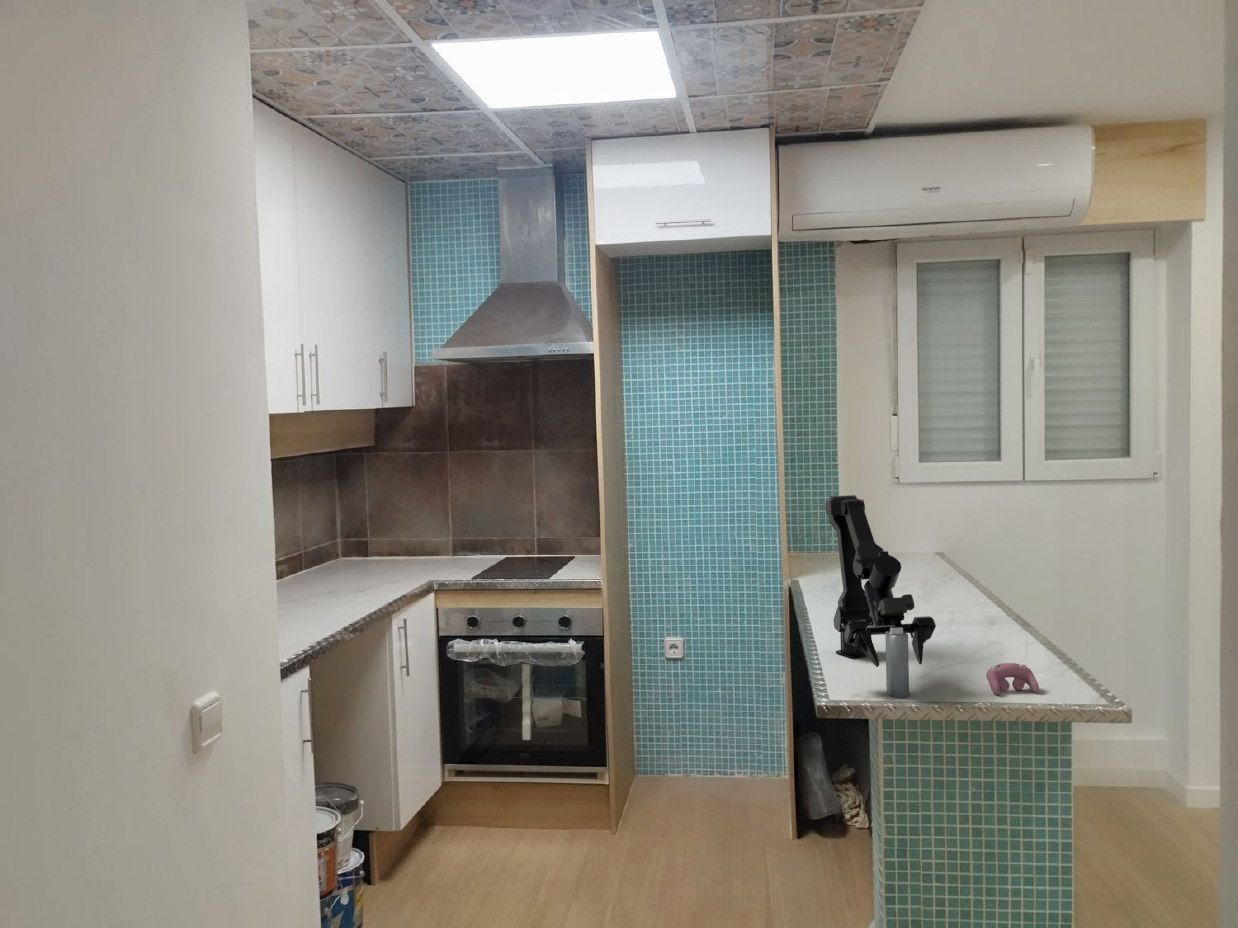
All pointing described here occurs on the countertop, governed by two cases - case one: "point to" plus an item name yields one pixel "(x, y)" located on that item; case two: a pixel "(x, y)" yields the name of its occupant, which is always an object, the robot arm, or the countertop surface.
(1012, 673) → the video game controller
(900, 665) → the grey bottle
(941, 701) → the countertop surface
